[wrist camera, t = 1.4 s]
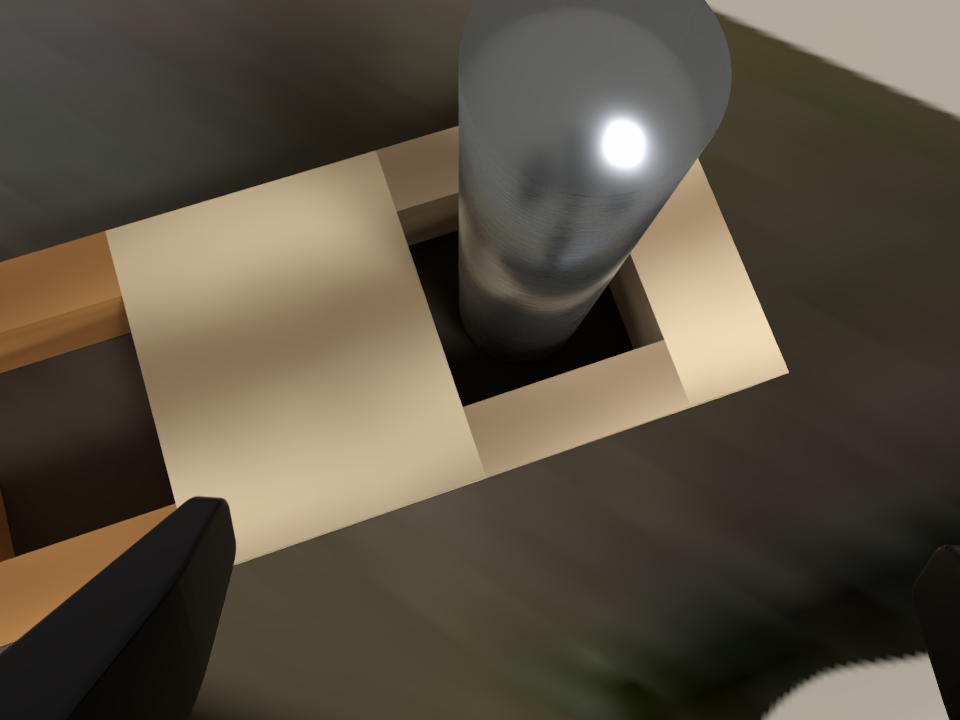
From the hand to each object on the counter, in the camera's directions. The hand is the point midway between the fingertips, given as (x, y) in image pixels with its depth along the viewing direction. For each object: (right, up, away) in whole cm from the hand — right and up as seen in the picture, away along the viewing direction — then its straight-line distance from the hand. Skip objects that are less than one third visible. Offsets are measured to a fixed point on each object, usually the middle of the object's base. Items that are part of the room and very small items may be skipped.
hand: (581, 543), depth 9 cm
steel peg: (0, +4, +14) cm, 15 cm away
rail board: (-6, +2, +13) cm, 15 cm away
